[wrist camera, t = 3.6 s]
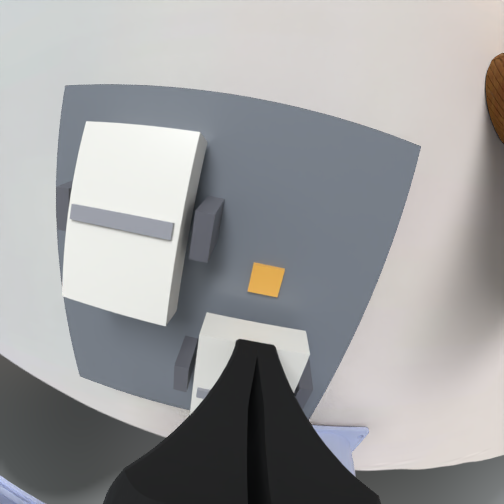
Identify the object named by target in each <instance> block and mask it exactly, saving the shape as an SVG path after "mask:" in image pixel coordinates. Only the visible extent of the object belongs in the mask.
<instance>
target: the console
mask: <svg viewBox="0 0 504 504" xmlns="http://www.w3.org/2000/svg"><path fill="white" fill-rule="evenodd" d="M86 121H92V122H110V123H124V124H136V125H147V126H156V127H165V128H174V129H181V130H189V131H196V132H200V133H201V134H202V135H203V137H204V138H205V139H206V141H207V142H208V143H207V147H206V151H205V156H204V160H203V165H202V170H201V174H200V179H199V184H198V189H197V194H196V199H195V204H194V209H193V214H192V219H191V225H190V230H189V236H188V241H187V247H186V253H185V259H184V265H183V271H182V278H181V284H180V291H179V298H178V305H177V311H176V312H175V314H174V315H173V317H172V318H171V320H170V321H169V322H168V324H167V325H166V326H162V325H158V324H154V323H150V322H146V321H143V320H139V319H135V318H132V317H128V316H125V315H121V314H118V313H114V312H111V311H107V310H104V309H101V308H98V307H94V306H91V305H88V304H85V303H82V302H79V301H75V300H72V299H69V298H66V297H64V303H65V309H66V315H67V321H68V326H69V331H70V336H71V341H72V345H73V350H74V354H75V358H76V363H77V367H78V370H79V374H80V376H81V377H83V378H86V379H89V380H91V381H94V382H97V383H99V384H102V385H105V386H108V387H111V388H114V389H117V390H120V391H123V392H126V393H129V394H132V395H135V396H139V397H142V398H145V399H149V400H152V401H156V402H159V403H163V404H167V405H171V406H175V407H179V408H183V409H187V410H190V407H191V398H192V390H193V381H194V373H195V365H196V357H197V349H198V341H199V334H200V331H201V328H202V325H203V322H204V319H205V316H206V313H207V312H208V313H213V314H218V315H222V316H227V317H232V318H237V319H242V320H247V321H252V322H258V323H263V324H269V325H274V326H280V327H286V328H291V329H297V330H304V331H306V334H307V340H308V345H309V351H310V356H309V358H308V361H307V363H306V366H305V368H304V370H303V373H302V375H301V378H300V380H299V382H298V385H297V387H296V389H295V391H294V395H295V397H296V399H297V401H298V403H299V404H300V406H301V408H302V410H303V412H304V413H305V415H306V417H307V418H308V420H309V418H310V417H311V415H312V413H313V412H314V410H315V408H316V407H317V405H318V403H319V401H320V400H321V398H322V396H323V394H324V392H325V391H326V389H327V387H328V385H329V383H330V381H331V380H332V378H333V376H334V374H335V372H336V370H337V368H338V366H339V364H340V362H341V360H342V358H343V356H344V354H345V352H346V350H347V348H348V346H349V344H350V342H351V340H352V338H353V336H354V334H355V332H356V330H357V327H358V325H359V323H360V321H361V319H362V316H363V314H364V312H365V310H366V307H367V305H368V303H369V300H370V298H371V296H372V293H373V291H374V288H375V286H376V284H377V281H378V279H379V276H380V274H381V271H382V269H383V266H384V263H385V261H386V258H387V255H388V253H389V250H390V247H391V244H392V242H393V239H394V236H395V233H396V230H397V227H398V224H399V221H400V218H401V215H402V212H403V209H404V206H405V203H406V199H407V196H408V193H409V189H410V186H411V182H412V179H413V175H414V172H415V168H416V164H417V160H418V157H419V153H420V149H421V146H419V145H416V144H414V143H411V142H409V141H406V140H403V139H401V138H398V137H395V136H393V135H390V134H387V133H384V132H381V131H378V130H376V129H373V128H370V127H366V126H363V125H360V124H357V123H354V122H351V121H347V120H344V119H341V118H337V117H334V116H330V115H326V114H323V113H319V112H315V111H311V110H307V109H303V108H299V107H295V106H290V105H286V104H281V103H277V102H272V101H267V100H262V99H257V98H251V97H245V96H239V95H233V94H227V93H220V92H213V91H205V90H196V89H187V88H176V87H164V86H148V85H119V84H95V85H67V86H65V91H64V97H63V104H62V111H61V119H60V129H59V139H58V153H57V174H56V218H57V239H58V252H59V263H60V273H61V281H62V282H63V261H64V247H65V236H66V226H67V218H68V210H69V203H70V196H71V190H72V184H73V178H74V173H75V167H76V162H77V157H78V153H79V148H80V144H81V140H82V136H83V131H84V128H85V124H86Z"/></svg>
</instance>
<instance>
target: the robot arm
mask: <svg viewBox="0 0 504 504" xmlns="http://www.w3.org/2000/svg"><path fill="white" fill-rule="evenodd" d="M368 433H369V430H368V428H367V427H339V426H319V425H311V423H310V422H309V420H308V418H307V417H306V415H305V413H304V412H303V410H302V408H301V406H300V404H299V403H298V401H297V399H296V397H295V395H294V393H293V391H292V388H291V386H290V384H289V382H288V380H287V377H286V375H285V373H284V370H283V367H282V365H281V362H280V359H279V356H278V353H277V350H276V347H275V346H274V345H272V344H266V343H260V342H255V341H249V340H244V339H238V340H236V343H235V347H234V350H233V353H232V355H231V357H230V359H229V361H228V363H227V365H226V367H225V369H224V370H223V372H222V374H221V375H220V377H219V379H218V380H217V382H216V383H215V384H214V386H213V387H212V389H211V390H210V391H209V393H208V394H207V396H206V397H205V398H204V399H203V401H202V402H201V403H200V404H199V406H198V407H197V408H196V409H195V410H194V411H193V412H192V414H191V415H190V416H189V417H188V418H187V419H186V420H185V421H184V422H183V423H182V424H181V425H180V426H179V427H178V428H177V429H176V430H175V431H174V432H172V433H171V434H170V435H169V436H168V437H167V438H165V439H164V440H163V441H162V442H161V443H159V444H158V445H157V446H156V447H155V448H153V449H152V450H151V451H149V452H148V453H147V454H145V455H144V456H142V457H141V458H139V459H138V460H136V461H135V462H133V463H132V464H130V465H129V466H127V467H125V468H124V469H123V471H122V472H121V473H120V474H119V476H118V477H117V478H116V479H115V481H114V482H113V483H112V485H111V487H110V488H109V490H108V492H107V494H106V497H105V500H104V503H103V504H381V502H380V499H379V496H378V495H377V494H375V493H374V492H373V491H372V490H370V489H369V488H368V487H366V485H364V484H363V483H362V482H361V481H359V480H358V479H357V478H356V477H355V470H354V464H353V458H352V451H353V450H354V449H355V448H356V447H357V446H358V445H359V444H360V442H361V441H362V440H363V439H364V438H365V437H366V436H367V434H368ZM0 504H45V503H43V502H42V501H40V500H38V499H36V498H35V497H33V496H31V495H29V494H28V493H26V492H25V491H23V490H21V489H20V488H18V487H17V486H15V485H14V484H12V483H11V482H9V481H7V480H6V479H5V478H3V477H2V476H0Z"/></svg>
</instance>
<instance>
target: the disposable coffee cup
mask: <svg viewBox="0 0 504 504" xmlns="http://www.w3.org/2000/svg"><path fill="white" fill-rule="evenodd" d="M486 99H487V105H488V110H489V114H490V117H491V121H492V123H493V125H494V128H495V130H496V132H497V134H498V136H499V138H500V140H501V141H502V142H503V143H504V53H501V54H499V55H498V56H496V57H495V58H494V59H493V60H492V62H491V64H490V66H489V68H488V71H487V76H486Z"/></svg>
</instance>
